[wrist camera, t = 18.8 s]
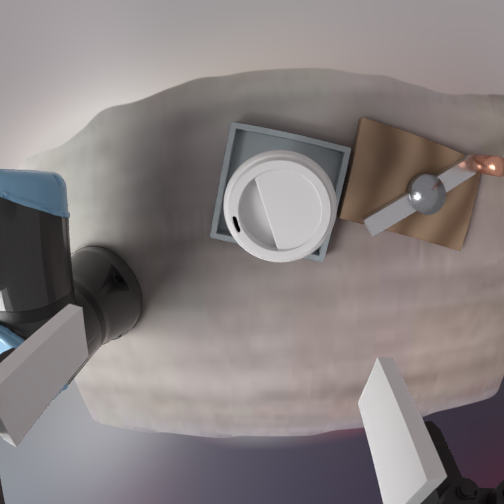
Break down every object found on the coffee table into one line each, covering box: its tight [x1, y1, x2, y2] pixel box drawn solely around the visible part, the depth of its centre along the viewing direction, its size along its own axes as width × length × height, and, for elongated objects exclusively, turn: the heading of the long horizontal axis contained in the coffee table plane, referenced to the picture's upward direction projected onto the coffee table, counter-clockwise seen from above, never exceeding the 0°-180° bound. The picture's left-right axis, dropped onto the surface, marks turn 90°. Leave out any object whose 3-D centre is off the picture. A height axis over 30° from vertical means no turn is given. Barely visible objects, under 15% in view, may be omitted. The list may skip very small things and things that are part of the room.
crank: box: [362, 155, 504, 237], centre depth 32 cm, size 19×5×7 cm, turn 122°
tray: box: [210, 122, 351, 262], centre depth 38 cm, size 14×14×2 cm
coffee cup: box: [223, 150, 337, 262], centre depth 32 cm, size 10×10×15 cm
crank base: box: [338, 117, 481, 251], centre depth 37 cm, size 19×13×2 cm
